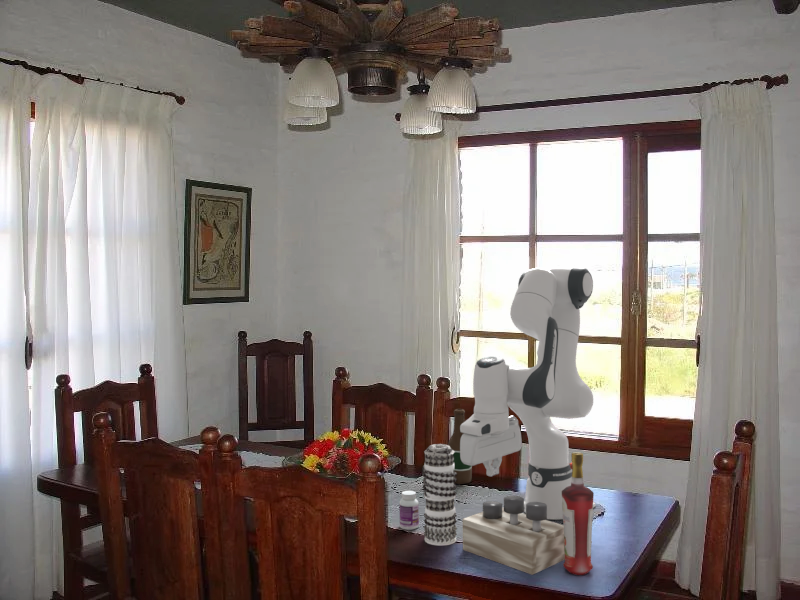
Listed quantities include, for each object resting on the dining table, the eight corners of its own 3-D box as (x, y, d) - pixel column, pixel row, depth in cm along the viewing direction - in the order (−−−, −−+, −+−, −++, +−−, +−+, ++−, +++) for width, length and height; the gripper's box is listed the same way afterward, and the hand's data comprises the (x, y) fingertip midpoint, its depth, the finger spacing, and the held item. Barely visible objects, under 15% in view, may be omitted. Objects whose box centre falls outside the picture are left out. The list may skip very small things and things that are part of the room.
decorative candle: (415, 539, 204) (414, 445, 203) (442, 531, 210) (441, 440, 208) (438, 549, 197) (436, 452, 195) (465, 540, 202) (463, 446, 201)
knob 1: (491, 530, 201) (491, 500, 201) (506, 535, 197) (506, 504, 197) (479, 535, 198) (478, 504, 197) (493, 540, 194) (493, 508, 194)
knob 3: (534, 532, 191) (534, 500, 190) (551, 537, 187) (551, 505, 186) (522, 537, 187) (521, 505, 187) (538, 542, 184) (538, 509, 183)
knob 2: (512, 525, 196) (512, 494, 195) (528, 530, 192) (528, 498, 192) (499, 530, 192) (499, 498, 192) (515, 535, 189) (515, 503, 188)
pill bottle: (417, 530, 210) (416, 495, 210) (398, 529, 211) (397, 495, 211) (420, 524, 216) (419, 490, 215) (401, 523, 217) (401, 489, 216)
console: (498, 535, 205) (498, 506, 205) (567, 558, 189) (567, 526, 189) (462, 549, 196) (462, 518, 195) (532, 574, 180) (532, 541, 179)
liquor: (558, 565, 185) (557, 450, 183) (588, 564, 185) (588, 449, 184) (566, 578, 177) (566, 458, 176) (598, 577, 178) (597, 457, 176)
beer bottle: (472, 484, 253) (472, 411, 251) (449, 484, 253) (448, 412, 251) (470, 477, 260) (470, 407, 259) (447, 477, 260) (446, 407, 259)
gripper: (508, 412, 205) (509, 463, 206) (455, 426, 192) (456, 481, 193) (526, 416, 201) (528, 468, 202) (474, 430, 187) (475, 486, 188)
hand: (492, 474), depth 197 cm, fingers closed
